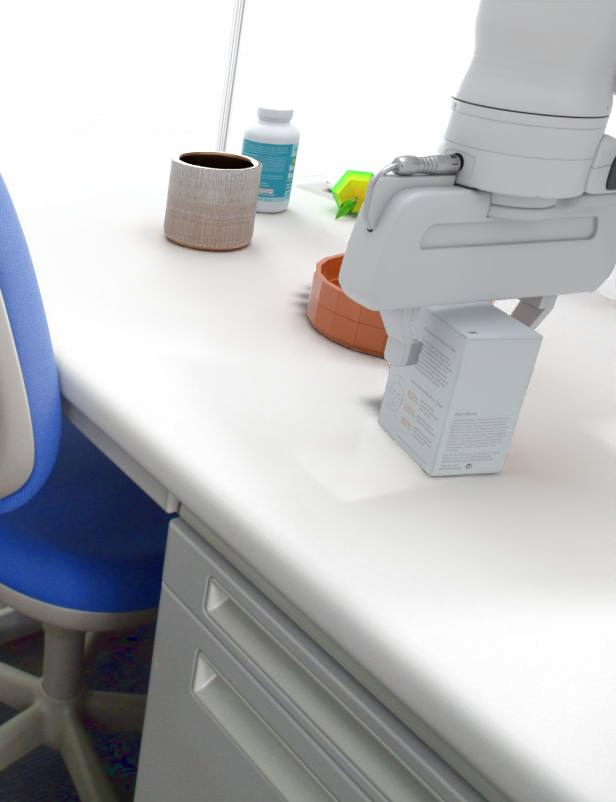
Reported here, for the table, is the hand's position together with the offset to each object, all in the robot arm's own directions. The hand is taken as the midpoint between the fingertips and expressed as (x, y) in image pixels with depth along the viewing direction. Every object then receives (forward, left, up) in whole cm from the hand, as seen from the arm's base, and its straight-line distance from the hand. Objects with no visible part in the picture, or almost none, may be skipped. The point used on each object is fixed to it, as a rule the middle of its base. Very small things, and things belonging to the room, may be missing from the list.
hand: (454, 356), depth 60 cm
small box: (0, 0, -7) cm, 7 cm away
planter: (-8, -50, -7) cm, 51 cm away
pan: (-12, -20, -7) cm, 24 cm away
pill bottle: (-23, -62, -7) cm, 66 cm away
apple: (-34, -56, -7) cm, 66 cm away
